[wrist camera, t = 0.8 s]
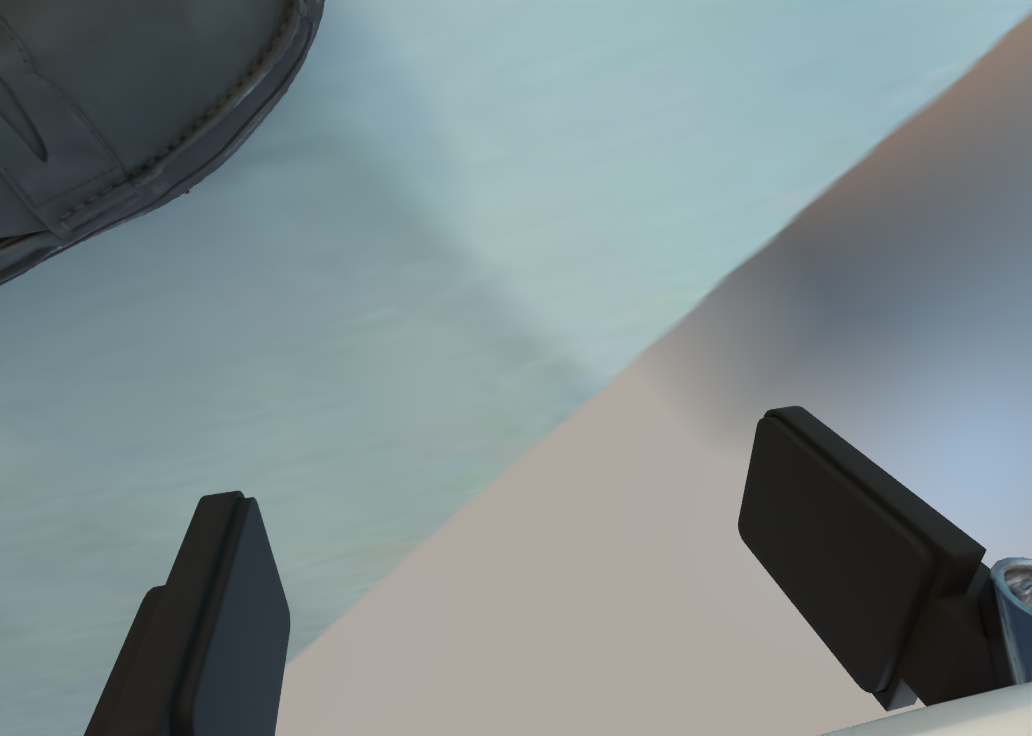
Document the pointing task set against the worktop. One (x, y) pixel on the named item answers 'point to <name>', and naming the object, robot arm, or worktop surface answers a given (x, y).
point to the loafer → (129, 106)
